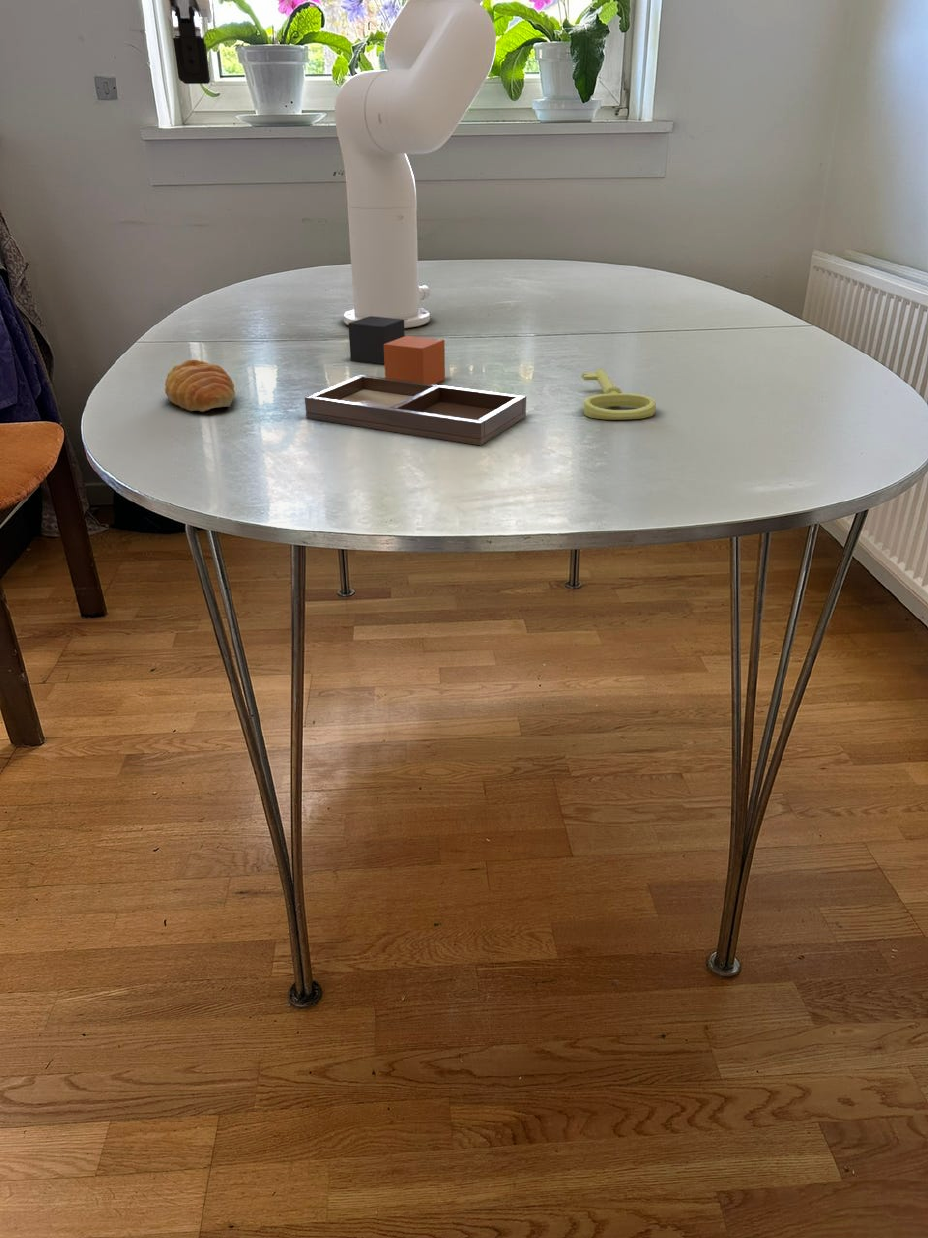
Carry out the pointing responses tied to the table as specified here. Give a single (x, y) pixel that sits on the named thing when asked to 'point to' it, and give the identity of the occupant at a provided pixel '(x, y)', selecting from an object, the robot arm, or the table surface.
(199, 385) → the pastry
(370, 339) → the black block
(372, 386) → the brown divided tray
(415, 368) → the orange block
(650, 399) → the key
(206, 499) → the table surface
